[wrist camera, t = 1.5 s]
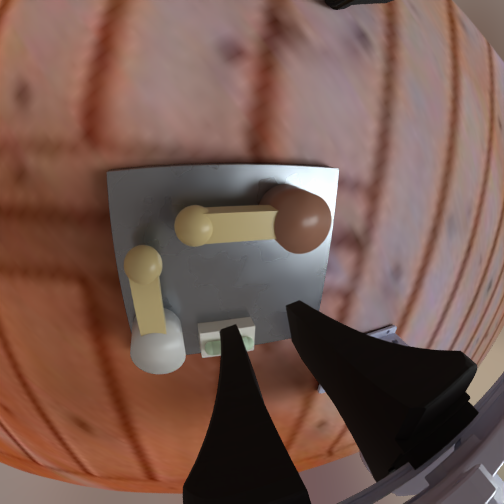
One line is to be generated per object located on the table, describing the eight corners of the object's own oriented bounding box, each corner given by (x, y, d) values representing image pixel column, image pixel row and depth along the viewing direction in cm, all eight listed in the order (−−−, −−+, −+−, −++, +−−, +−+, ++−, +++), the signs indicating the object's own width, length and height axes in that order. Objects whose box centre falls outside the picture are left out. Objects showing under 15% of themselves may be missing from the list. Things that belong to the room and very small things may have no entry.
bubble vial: (250, 316, 21) (259, 333, 19) (249, 340, 22) (257, 357, 20) (197, 323, 20) (201, 341, 18) (199, 347, 20) (204, 366, 19)
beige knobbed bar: (310, 184, 18) (337, 194, 15) (305, 235, 19) (330, 253, 16) (172, 186, 15) (173, 197, 13) (174, 244, 17) (177, 267, 14)
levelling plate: (329, 166, 19) (339, 168, 18) (308, 325, 25) (314, 333, 23) (110, 169, 15) (106, 171, 14) (138, 348, 20) (138, 358, 19)
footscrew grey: (183, 343, 20) (188, 374, 17) (137, 347, 19) (137, 379, 16) (172, 230, 16) (174, 251, 14) (115, 235, 15) (105, 257, 13)
